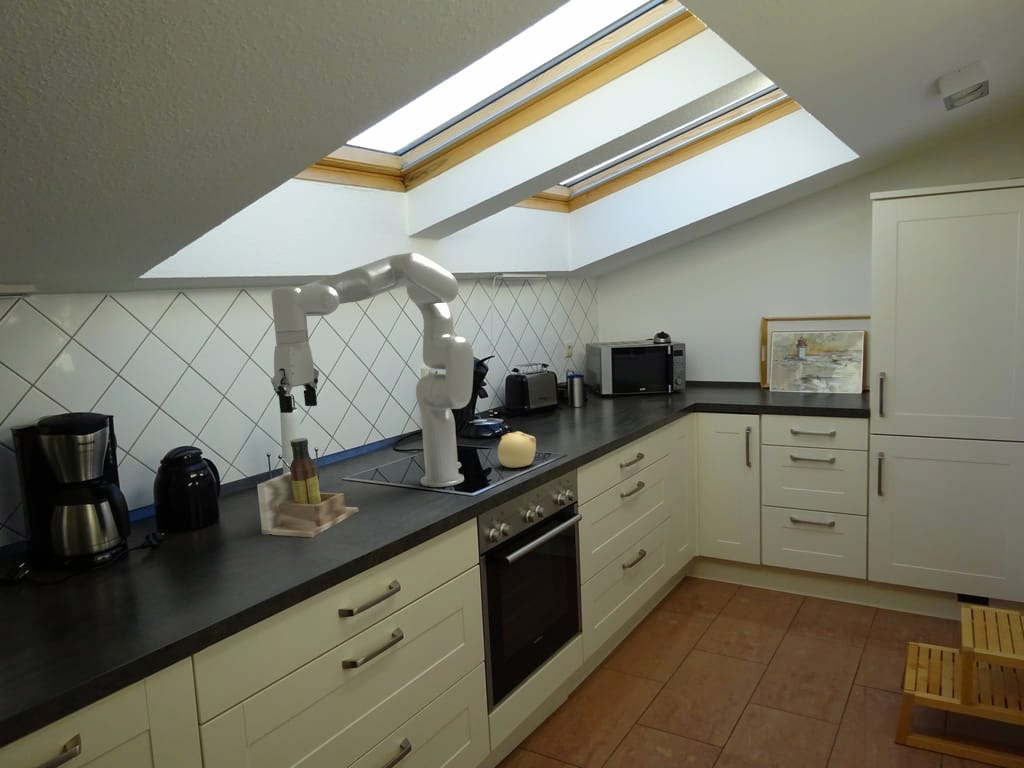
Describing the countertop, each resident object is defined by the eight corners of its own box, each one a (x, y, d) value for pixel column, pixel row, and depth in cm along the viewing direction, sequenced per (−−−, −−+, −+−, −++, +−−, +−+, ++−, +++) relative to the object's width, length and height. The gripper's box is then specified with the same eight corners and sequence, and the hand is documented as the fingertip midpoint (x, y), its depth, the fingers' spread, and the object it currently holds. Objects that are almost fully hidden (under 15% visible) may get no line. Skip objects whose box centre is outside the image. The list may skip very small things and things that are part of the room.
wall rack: (312, 509, 187) (307, 464, 186) (358, 511, 182) (354, 465, 181) (262, 534, 168) (257, 484, 167) (312, 537, 164) (307, 486, 162)
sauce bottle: (321, 512, 180) (314, 435, 177) (323, 519, 174) (315, 439, 171) (295, 516, 178) (286, 438, 175) (295, 523, 172) (287, 443, 169)
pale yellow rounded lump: (541, 462, 225) (539, 428, 224) (527, 471, 214) (525, 436, 213) (507, 461, 229) (505, 428, 228) (492, 470, 218) (490, 435, 217)
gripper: (300, 336, 180) (307, 403, 182) (255, 342, 164) (263, 415, 166) (326, 335, 177) (332, 403, 179) (282, 341, 161) (290, 415, 163)
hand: (299, 409), depth 173 cm, fingers open, 9 cm apart
